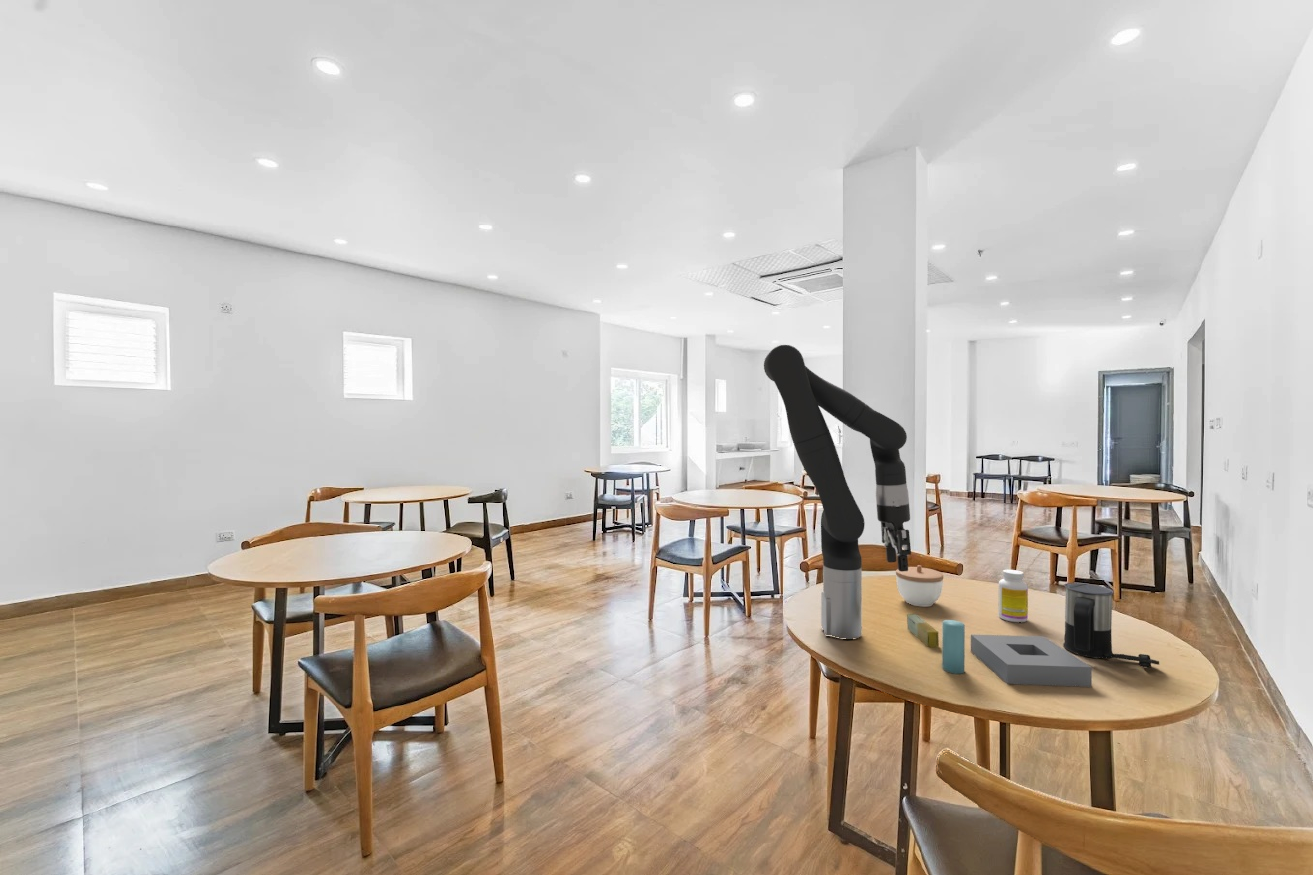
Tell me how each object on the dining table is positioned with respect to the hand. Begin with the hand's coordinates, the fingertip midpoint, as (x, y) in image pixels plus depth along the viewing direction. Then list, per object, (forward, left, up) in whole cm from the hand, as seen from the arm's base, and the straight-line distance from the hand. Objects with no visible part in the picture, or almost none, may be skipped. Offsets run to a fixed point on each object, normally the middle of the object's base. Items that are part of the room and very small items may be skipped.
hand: (897, 566), depth 139 cm
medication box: (+6, -1, -18) cm, 19 cm away
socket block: (+22, -17, -17) cm, 33 cm away
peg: (+6, -19, -17) cm, 26 cm away
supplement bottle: (+35, +14, -18) cm, 41 cm away
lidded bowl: (+15, +26, -18) cm, 35 cm away
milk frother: (+43, -10, -18) cm, 47 cm away
